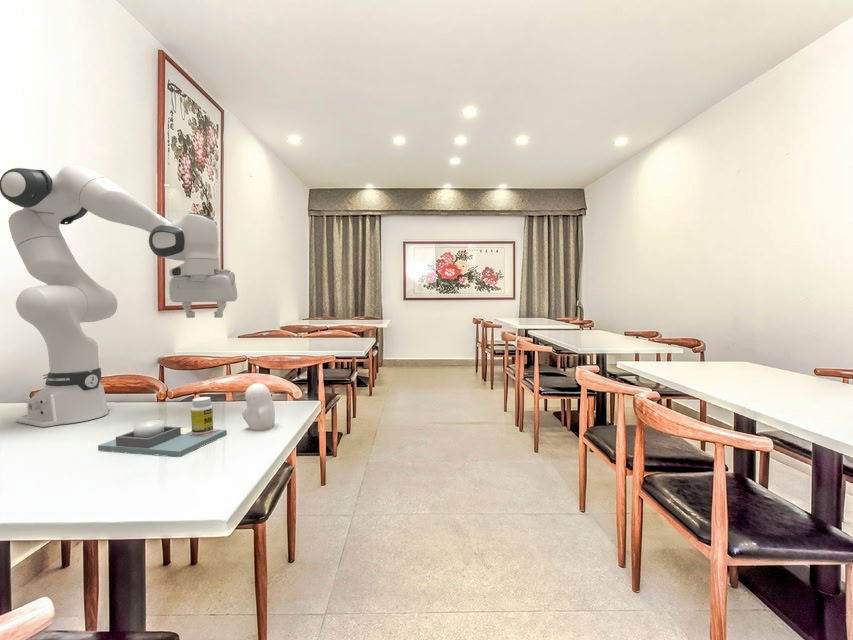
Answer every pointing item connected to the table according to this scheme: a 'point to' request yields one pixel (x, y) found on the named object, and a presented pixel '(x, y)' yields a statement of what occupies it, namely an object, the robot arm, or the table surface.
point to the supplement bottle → (202, 416)
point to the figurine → (259, 408)
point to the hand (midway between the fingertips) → (204, 317)
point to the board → (162, 442)
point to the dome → (148, 428)
